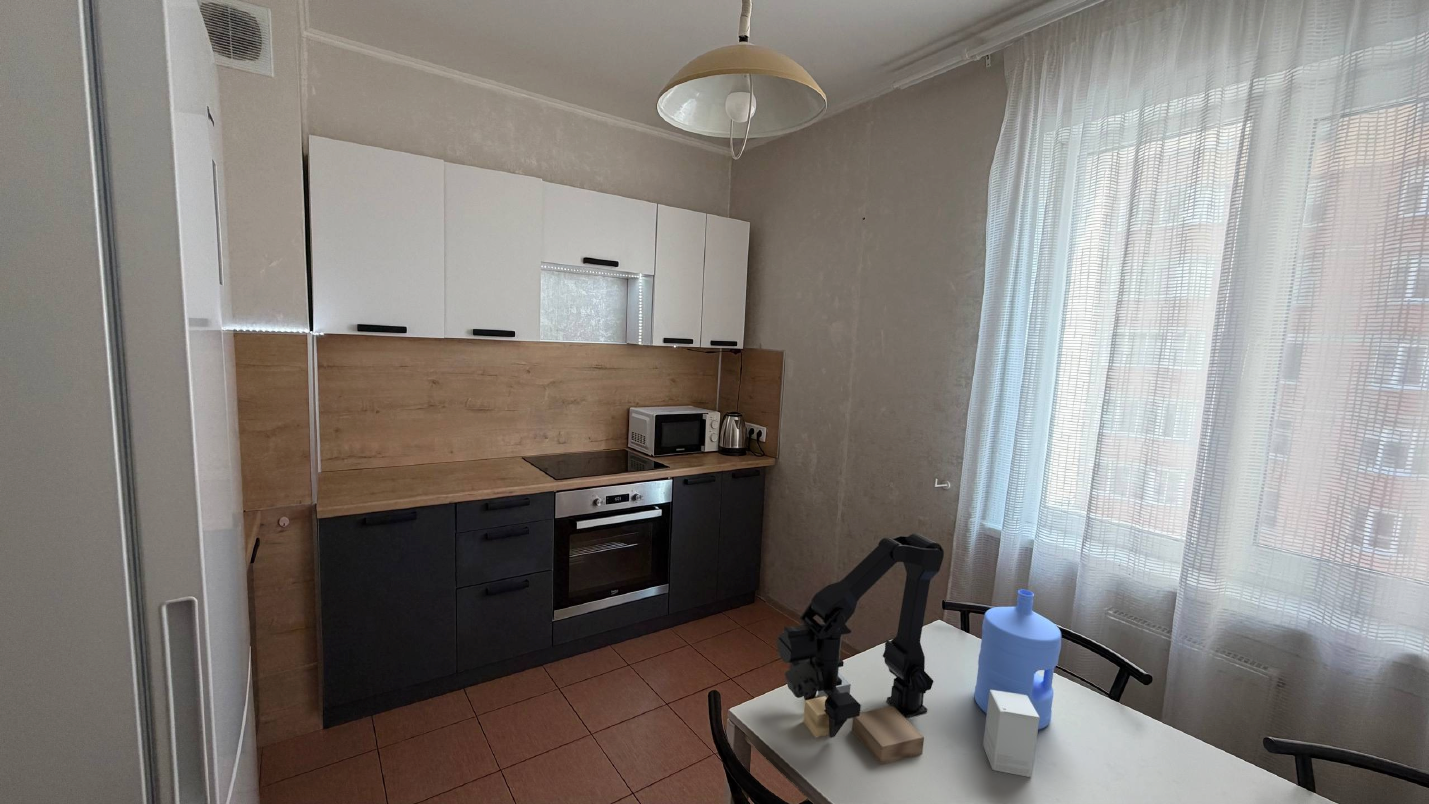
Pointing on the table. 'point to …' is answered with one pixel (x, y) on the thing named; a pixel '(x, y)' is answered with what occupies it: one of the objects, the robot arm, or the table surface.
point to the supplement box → (1011, 733)
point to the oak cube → (816, 716)
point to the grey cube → (838, 687)
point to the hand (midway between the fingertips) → (820, 722)
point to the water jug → (1018, 655)
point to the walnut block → (887, 734)
